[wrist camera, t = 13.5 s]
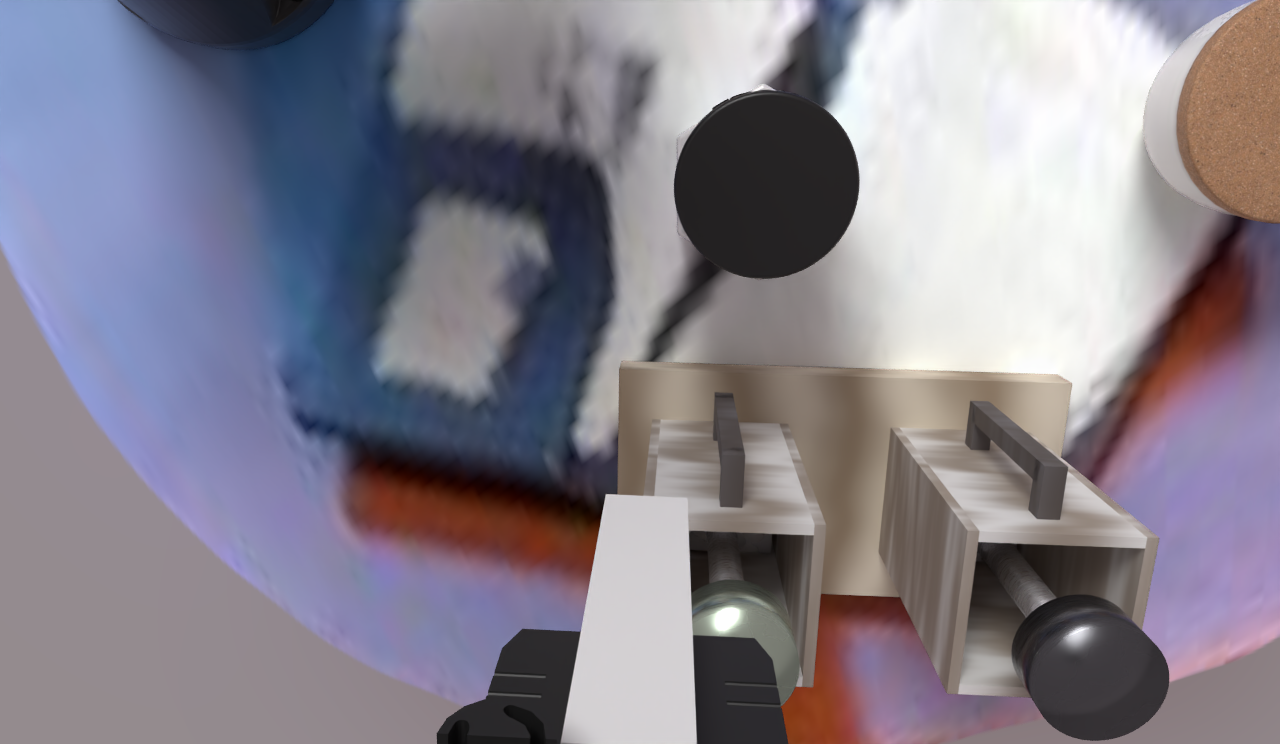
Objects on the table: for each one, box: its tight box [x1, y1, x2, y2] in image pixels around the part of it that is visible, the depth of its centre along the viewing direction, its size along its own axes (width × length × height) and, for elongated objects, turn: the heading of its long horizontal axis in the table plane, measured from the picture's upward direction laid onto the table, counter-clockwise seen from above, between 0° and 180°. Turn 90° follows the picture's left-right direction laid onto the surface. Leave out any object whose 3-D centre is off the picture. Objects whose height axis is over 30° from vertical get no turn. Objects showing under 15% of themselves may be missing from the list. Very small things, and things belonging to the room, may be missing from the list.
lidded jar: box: [1143, 0, 1280, 223], centre depth 42 cm, size 11×11×9 cm
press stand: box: [618, 361, 1159, 698], centre depth 45 cm, size 26×14×16 cm, turn 89°
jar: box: [674, 84, 859, 280], centre depth 43 cm, size 9×8×12 cm
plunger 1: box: [689, 530, 800, 706], centre depth 42 cm, size 6×6×17 cm
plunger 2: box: [976, 542, 1169, 741], centre depth 41 cm, size 6×6×17 cm
